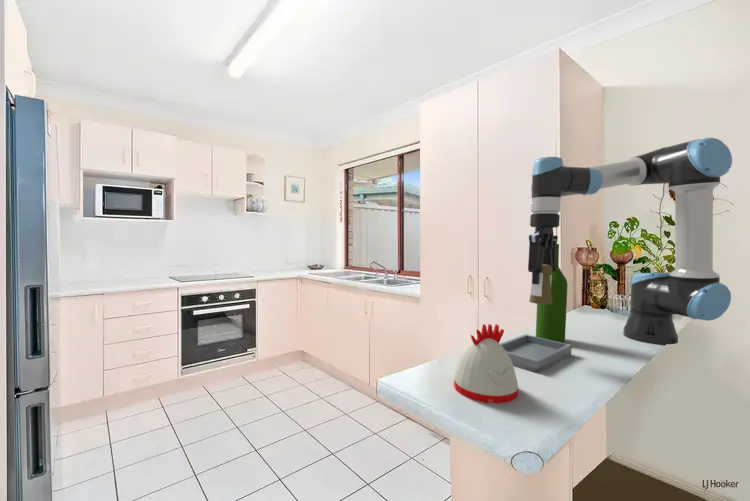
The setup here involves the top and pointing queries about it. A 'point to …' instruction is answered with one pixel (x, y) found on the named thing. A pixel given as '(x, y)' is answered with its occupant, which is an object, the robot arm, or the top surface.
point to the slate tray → (535, 352)
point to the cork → (544, 287)
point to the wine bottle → (554, 308)
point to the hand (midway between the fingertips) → (540, 294)
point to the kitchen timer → (486, 369)
